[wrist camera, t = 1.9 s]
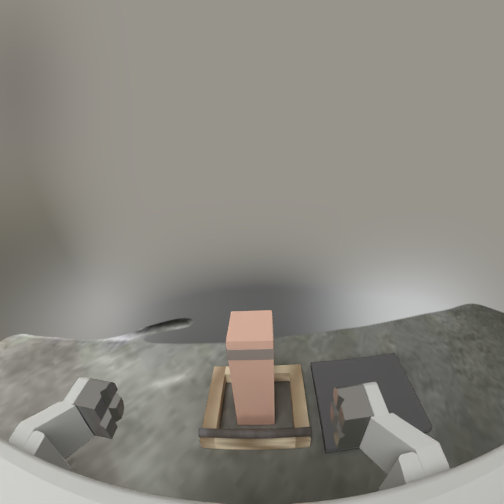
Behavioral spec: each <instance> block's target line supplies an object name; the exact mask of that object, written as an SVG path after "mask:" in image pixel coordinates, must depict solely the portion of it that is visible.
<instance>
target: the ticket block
mask: <svg viewBox="0 0 504 504" xmlns="http://www.w3.org/2000/svg"><path fill="white" fill-rule="evenodd" d="M226 346H227V349H226V351H227V358H228V361H229V368H230V375H231V382H232V389H233V396H234V402H235V409H236V415H237V422H238V425H269V424H275V409H274V337H273V318H272V310H265V311H232V312H231V316H230V322H229V328H228V333H227V339H226Z"/></svg>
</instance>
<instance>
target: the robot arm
mask: <svg viewBox="0 0 504 504" xmlns="http://www.w3.org/2000/svg"><path fill="white" fill-rule="evenodd" d="M116 391H117V387H116V385H115V383H112V382H108V381H103V380H98V379H93V378H87V377H80V378H78V380H77V381H76V383H75V384H74V386H73V387H72V389H71V390H70V392H69V393H68V395H67V396H66V398H65V399H64V401H63V402H61V401H60V402H58V403H56V404H54V405H52V406H50V407H49V408H47V409H45V410H43V411H41V412H39V413H37V414H35V415H33V416H31V417H30V418H28V419H26V420H24V421H22V422H20V423H19V425H18V426H17V428H16V429H15V431H14V432H13V434H12V435H11V437H10V438H9V440H8V441H5V440H3V439H1V438H0V504H223V503H210V502H200V501H191V500H184V499H177V498H171V497H165V496H159V495H154V494H149V493H144V492H140V491H135V490H131V489H127V488H123V487H119V486H115V485H112V484H108V483H105V482H102V481H98V480H95V479H92V478H89V477H86V476H83V475H80V474H78V473H75V472H72V467H71V466H70V465H69V464H68V462H67V461H66V460H65V459H66V458H67V457H69V456H70V455H71V454H72V453H74V452H75V451H76V450H77V449H79V448H80V447H81V446H83V445H84V444H85V443H86V442H88V441H89V440H90V439H91V438H93V437H94V435H96V436H101V437H106V438H110V439H112V438H113V435H114V433H115V431H116V429H117V424H116V422H117V421H118V420H120V419H121V417H122V415H123V411H124V404H123V400H122V398H121V397H120V396H119V395H118V394H117V393H116ZM333 397H334V401H333V402H331V408H330V417H331V424H332V427H334V428H335V432H334V439H335V444H336V449H345V448H353V447H359V448H360V449H361V450H362V451H363V452H364V453H365V454H366V455H367V456H368V457H369V458H371V459H372V460H373V461H374V462H375V463H376V464H377V465H378V466H379V467H380V468H381V469H382V470H383V471H384V472H385V473H386V474H387V475H388V476H387V477H386V478H385V480H384V481H383V483H382V484H381V486H380V487H379V491H377V492H372V493H368V494H363V495H358V496H352V497H346V498H340V499H333V500H325V501H317V502H307V503H294V504H504V444H503V445H501V446H500V447H498V448H496V449H494V450H492V451H490V452H488V453H486V454H484V455H482V456H479V457H477V458H475V459H473V460H471V461H468V462H466V463H464V464H461V465H459V466H457V467H454V468H452V469H450V467H449V464H448V462H447V460H446V457H445V455H444V453H443V451H442V448H441V446H440V444H439V442H437V441H435V440H434V439H432V438H431V437H429V436H428V435H426V434H424V433H423V432H421V431H420V430H418V429H417V428H415V427H414V426H412V425H410V424H409V423H407V422H406V421H404V420H403V419H401V418H400V417H398V416H397V415H395V414H394V413H390V414H389V412H388V409H387V407H386V404H385V402H384V399H383V397H382V394H381V392H380V389H379V387H378V384H377V383H376V382H370V383H364V384H356V385H349V386H340V387H335V388H334V391H333Z"/></svg>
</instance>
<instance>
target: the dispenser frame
mask: <svg viewBox="0 0 504 504" xmlns="http://www.w3.org/2000/svg"><path fill="white" fill-rule="evenodd" d="M281 381H289V382H290V393H291V405H292V416H293V428H282V429H219V427H220V420H221V413H222V406H223V399H224V393H225V386H226V382H230V383H232V382H231V375H230V368H229V366H214V371H213V375H212V380H211V385H210V390H209V395H208V400H207V405H206V410H205V415H204V420H203V425H202V428H199V437H200V443H201V446H202V448H213V449H239V450H263V449H289V448H304V447H310V442H311V427H309V421H308V413H307V406H306V398H305V391H304V384H303V377H302V370H301V364H296V365H277V366H274V382H281Z"/></svg>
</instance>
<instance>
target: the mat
mask: <svg viewBox="0 0 504 504" xmlns="http://www.w3.org/2000/svg"><path fill="white" fill-rule="evenodd" d="M311 371H312V377H313V382H314V388H315V393H316V399H317V405H318V411H319V417H320V423H321V429H322V435H323V441H324V447H325V453H330V452H337V451H345V450H351V449H357V448H359V447H353V448H345V449H336V444H335V439H334V432H335V428H334V427H332V424H331V417H330V408H331V402H333V401H334V397H333V391H334V388H335V387H340V386H349V385H356V384H364V383H370V382H376V383H377V384H378V387H379V389H380V392H381V394H382V397H383V399H384V402H385V404H386V407H387V409H388V412H389V414H390V413H394V414H395V415H397V416H398V417H400V418H401V419H403V420H404V421H406V422H407V423H409V424H410V425H412V426H414V427H415V428H417V429H418V430H420V431H421V432H423V433H427V432H430V430H431V429H432V426H431V424H430V422H429V420H428V418H427V415H426V413H425V411H424V409H423V407H422V405H421V403H420V401H419V399H418V397H417V395H416V393H415V391H414V389H413V387H412V385H411V383H410V381H409V379H408V377H407V375H406V373H405V372H404V370H403V368H402V366H401V364H400V362H399V360H398V358H397V356H396V355H395V353H391V354H384V355H377V356H370V357H362V358H353V359H344V360H334V361H323V362H311Z"/></svg>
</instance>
